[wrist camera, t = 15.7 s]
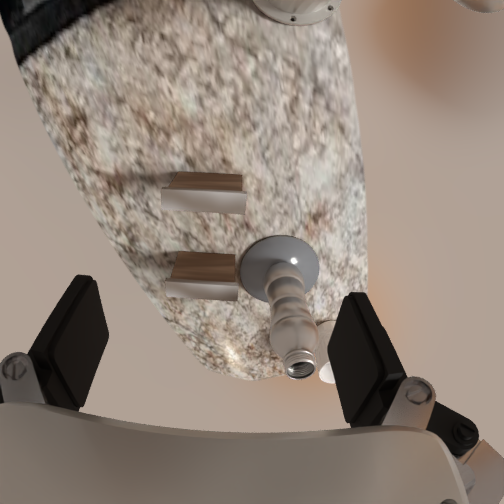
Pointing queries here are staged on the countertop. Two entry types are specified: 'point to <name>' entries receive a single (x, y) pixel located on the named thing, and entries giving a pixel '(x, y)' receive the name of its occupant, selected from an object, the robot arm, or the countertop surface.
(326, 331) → the white cup
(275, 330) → the grey bulging hollow cylinder
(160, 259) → the countertop surface
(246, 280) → the coaster
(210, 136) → the countertop surface
